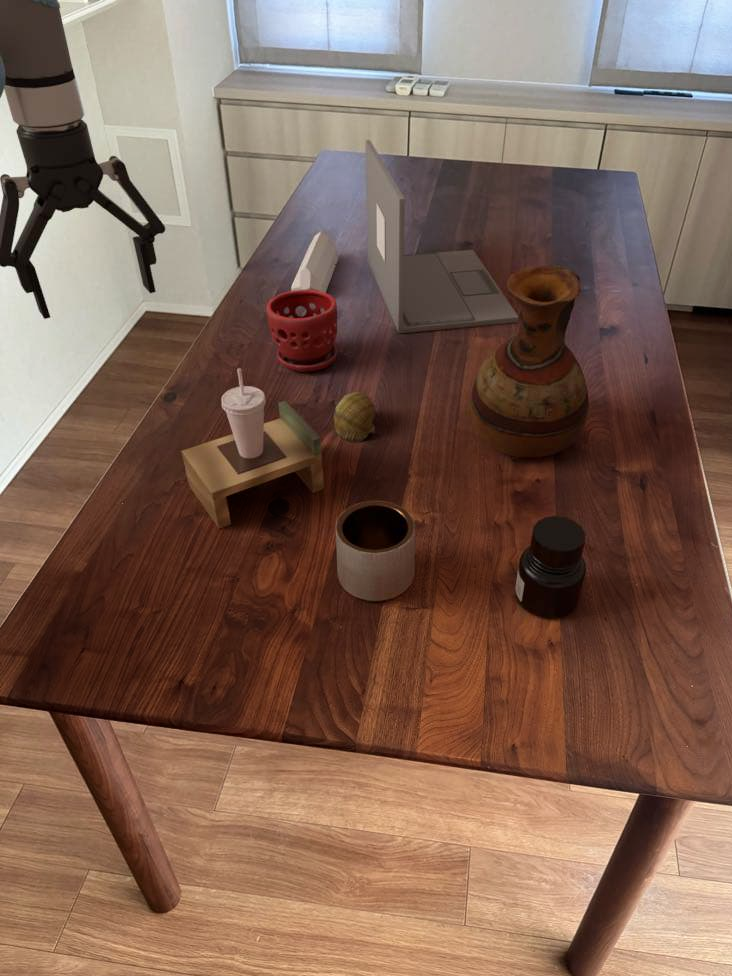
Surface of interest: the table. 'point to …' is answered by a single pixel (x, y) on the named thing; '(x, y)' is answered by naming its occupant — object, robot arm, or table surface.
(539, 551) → the ink bottle
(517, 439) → the clay vase
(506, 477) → the table surface
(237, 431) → the smoothie
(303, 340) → the flower pot
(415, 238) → the table surface
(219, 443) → the small wooden bench
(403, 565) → the planter
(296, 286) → the white triangular prism
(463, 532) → the table surface
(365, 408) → the seashell
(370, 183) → the laptop
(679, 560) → the table surface
